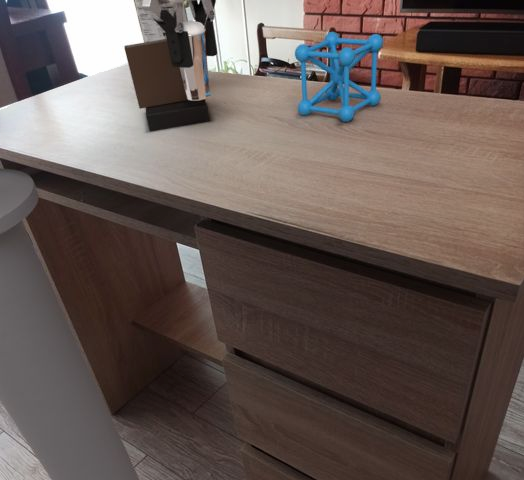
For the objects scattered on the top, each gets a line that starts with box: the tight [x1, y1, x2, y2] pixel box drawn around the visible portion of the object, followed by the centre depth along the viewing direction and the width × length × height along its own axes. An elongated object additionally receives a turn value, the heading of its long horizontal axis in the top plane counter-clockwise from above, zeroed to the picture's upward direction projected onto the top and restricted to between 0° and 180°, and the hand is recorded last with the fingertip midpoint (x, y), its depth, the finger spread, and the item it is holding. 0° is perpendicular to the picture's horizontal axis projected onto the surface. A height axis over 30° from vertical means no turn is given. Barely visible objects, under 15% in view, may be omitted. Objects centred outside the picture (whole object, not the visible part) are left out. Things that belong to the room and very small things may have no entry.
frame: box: [123, 39, 188, 109], centre depth 84 cm, size 12×2×9 cm, turn 102°
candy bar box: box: [133, 0, 189, 43], centre depth 98 cm, size 11×5×16 cm, turn 164°
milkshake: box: [180, 11, 211, 101], centre depth 69 cm, size 4×5×10 cm
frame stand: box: [145, 99, 210, 132], centre depth 88 cm, size 10×10×2 cm
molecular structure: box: [294, 31, 384, 123], centre depth 80 cm, size 10×10×10 cm
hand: (195, 59), depth 69 cm, fingers closed on milkshake, 4 cm apart
